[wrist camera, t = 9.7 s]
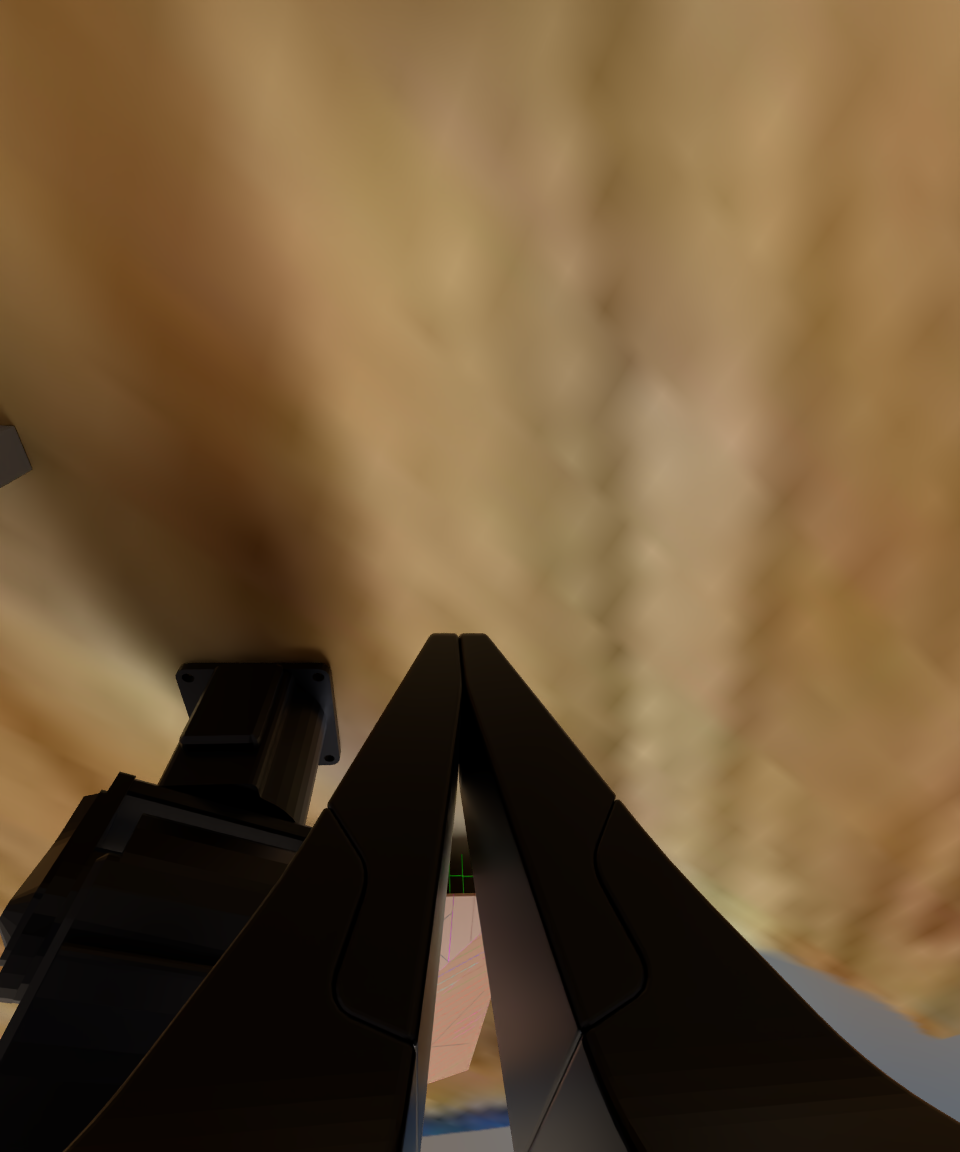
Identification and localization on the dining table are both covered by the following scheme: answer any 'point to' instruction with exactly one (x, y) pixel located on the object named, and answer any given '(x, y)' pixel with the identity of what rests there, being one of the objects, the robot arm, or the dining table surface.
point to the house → (459, 987)
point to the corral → (11, 456)
